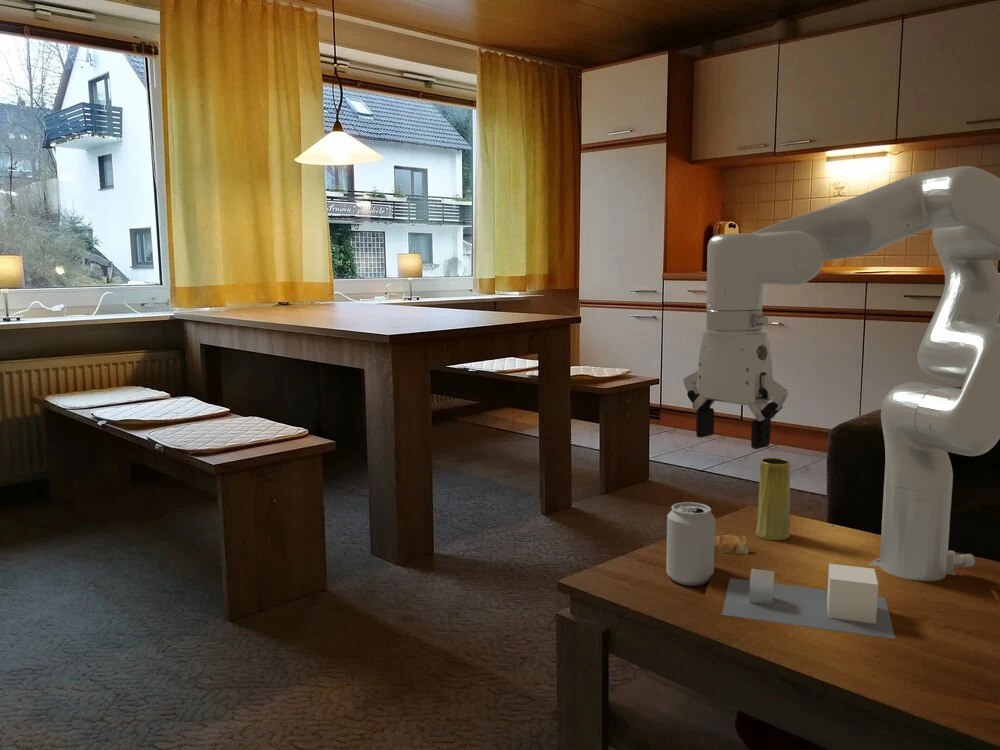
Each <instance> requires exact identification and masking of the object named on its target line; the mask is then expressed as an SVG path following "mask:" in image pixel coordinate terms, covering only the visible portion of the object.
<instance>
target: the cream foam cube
mask: <svg viewBox="0 0 1000 750" xmlns="http://www.w3.org/2000/svg"><path fill="white" fill-rule="evenodd" d="M827 578H828V579H827V590H828V593H827V605H828V617H829V618H837V619H844V620H852V621H859V622H866V623H874V624H876V615H877V597H878V594H879V582H878V576H877V573H876V570H875V568H872V567H871V568H870V567H861V566H853V565H845V564H834V563H828V574H827Z"/></svg>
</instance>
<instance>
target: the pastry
mask: <svg viewBox="0 0 1000 750" xmlns="http://www.w3.org/2000/svg"><path fill="white" fill-rule="evenodd" d="M749 548H750V547H749V546H748V537H747V536H745V535H742V536H737V535H733V534H723V535H721V536H720V535H715V549H714V560H716V559H717V554H718V553H720V554H731V555H748V554H749V553H750V551H749Z"/></svg>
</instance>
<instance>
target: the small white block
mask: <svg viewBox="0 0 1000 750" xmlns="http://www.w3.org/2000/svg"><path fill="white" fill-rule="evenodd" d="M749 580H750V596H749V603H755V604H762V605H770V606H773V591H774V584H775V571H774V570H766V569H759V568H758V569H757V568H751V570H750V575H749Z"/></svg>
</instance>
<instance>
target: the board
mask: <svg viewBox="0 0 1000 750" xmlns="http://www.w3.org/2000/svg"><path fill="white" fill-rule="evenodd" d="M827 593H828V589H822V588H814V587H813V588H812V587H806V586H797V585H789V584H782V583H781V584H780V583H774V591H773V606H770V605H762V604H755V603H749V596H750V579H749V580H748V579H740V578H734V577H731V578H730V577H729V581H728V586H727V590H726V594H725V599H724V604H723V607H722V611H721V616H725V617H733V618H740V619H746V620H747V619H748V620H755V621H763V622H770V623H777V624H784V625H791V626H797V627H805V628H811V629H818V630H826V631H827V630H828V631H833V632H834V631H835V632H839V633H840V632H841V633H847V634H856V635H862V636H863V635H864V636H868V637H869V636H870V637H875V638H876V637H877V638H883V639H890V640H891V639H892V640H896V635H895V631H894V628H893V623H892V619H891V616H890V615H891V614H890V611H889V607H888V604H887V600H886V597H885V596H878V597H877V615H876V624H874V623H866V622H859V621H852V620H844V619H837V618H829V617H828V605H827Z"/></svg>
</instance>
